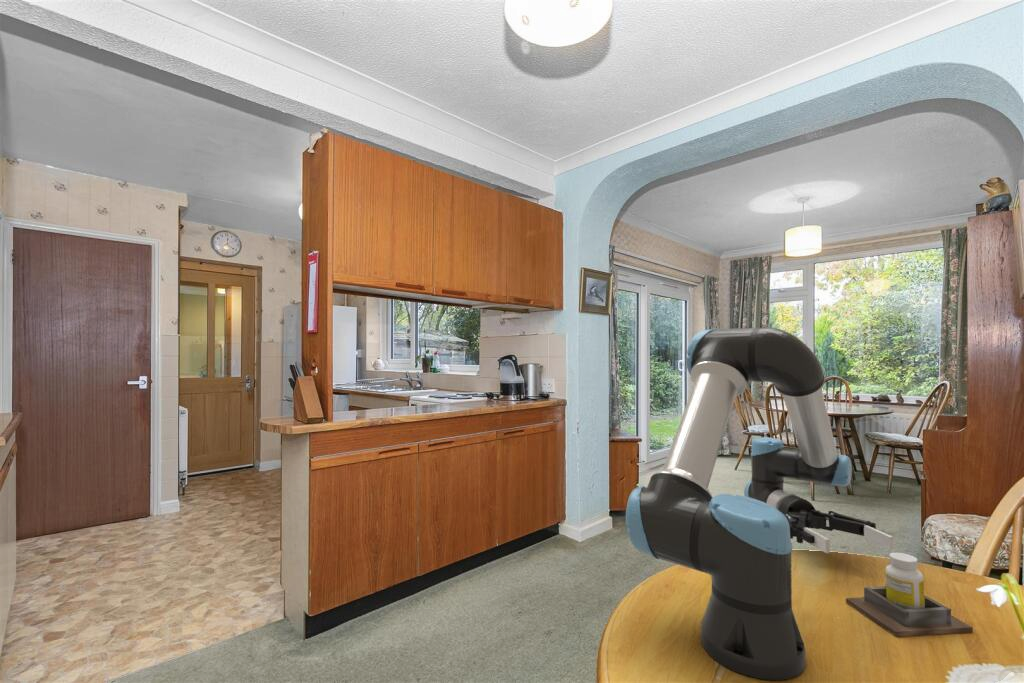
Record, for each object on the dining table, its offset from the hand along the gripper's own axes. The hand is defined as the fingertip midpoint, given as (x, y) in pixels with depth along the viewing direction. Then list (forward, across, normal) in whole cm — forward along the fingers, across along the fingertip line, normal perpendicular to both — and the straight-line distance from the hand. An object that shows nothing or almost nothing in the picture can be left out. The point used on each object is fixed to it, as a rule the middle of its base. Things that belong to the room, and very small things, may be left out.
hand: (860, 545), depth 98 cm
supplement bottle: (+10, 0, -8) cm, 13 cm away
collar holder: (+10, 0, -9) cm, 13 cm away
